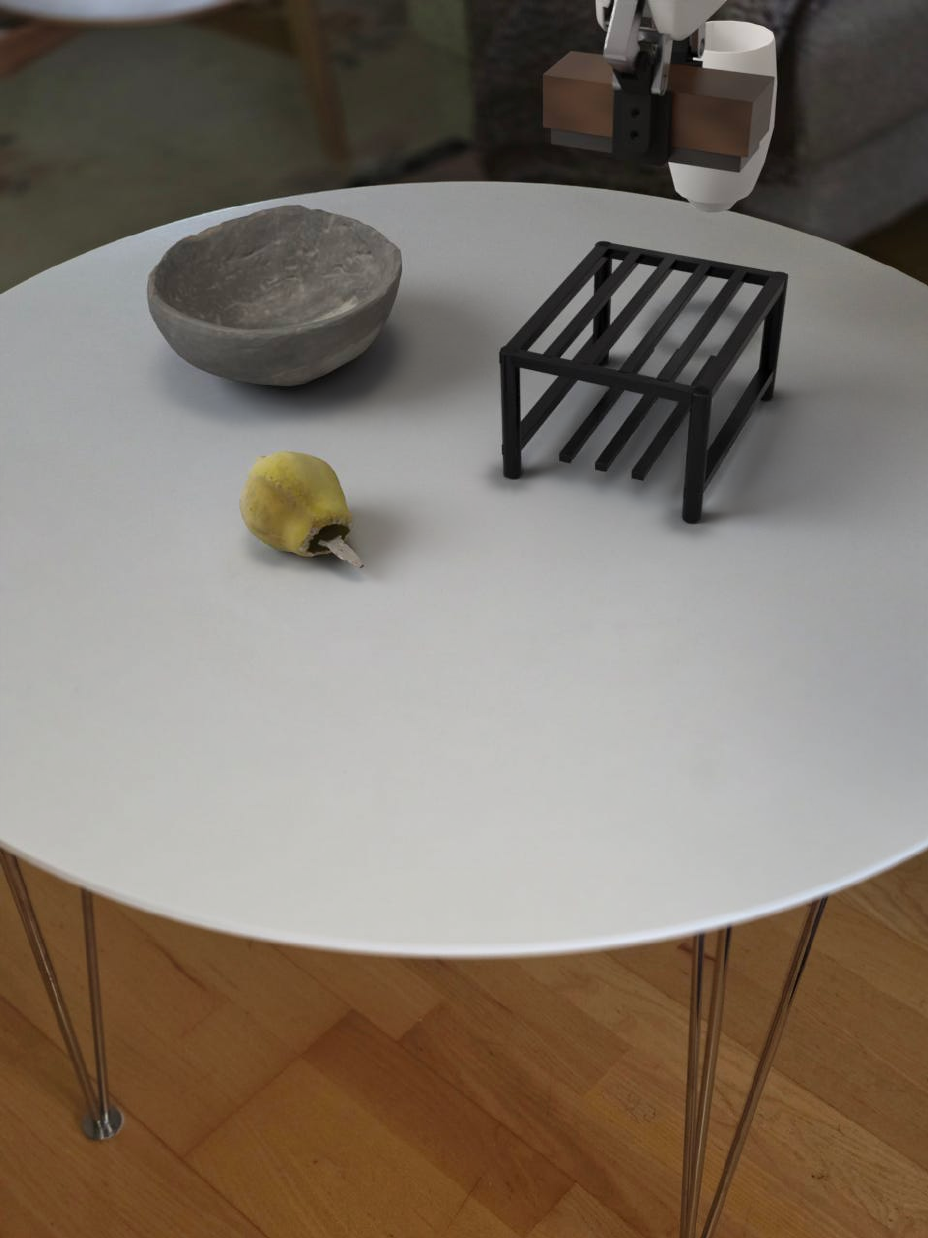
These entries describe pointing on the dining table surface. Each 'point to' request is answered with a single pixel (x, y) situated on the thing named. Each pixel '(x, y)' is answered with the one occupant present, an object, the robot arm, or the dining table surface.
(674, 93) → the brown wooden block
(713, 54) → the cup
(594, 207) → the dining table surface
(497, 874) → the dining table surface
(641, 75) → the robot arm
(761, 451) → the dining table surface
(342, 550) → the fruit
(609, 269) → the rack
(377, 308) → the bowl
